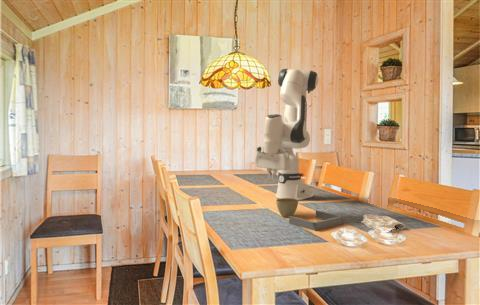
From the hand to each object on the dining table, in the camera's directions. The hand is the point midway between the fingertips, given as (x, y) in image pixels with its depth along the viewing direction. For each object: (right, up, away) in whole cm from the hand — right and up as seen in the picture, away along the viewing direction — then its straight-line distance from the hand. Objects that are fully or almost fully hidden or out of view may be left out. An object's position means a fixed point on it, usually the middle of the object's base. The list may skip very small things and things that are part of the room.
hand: (272, 178), depth 181 cm
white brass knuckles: (+43, -19, -23) cm, 52 cm away
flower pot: (+6, -17, -6) cm, 19 cm away
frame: (+17, -18, -19) cm, 31 cm away
